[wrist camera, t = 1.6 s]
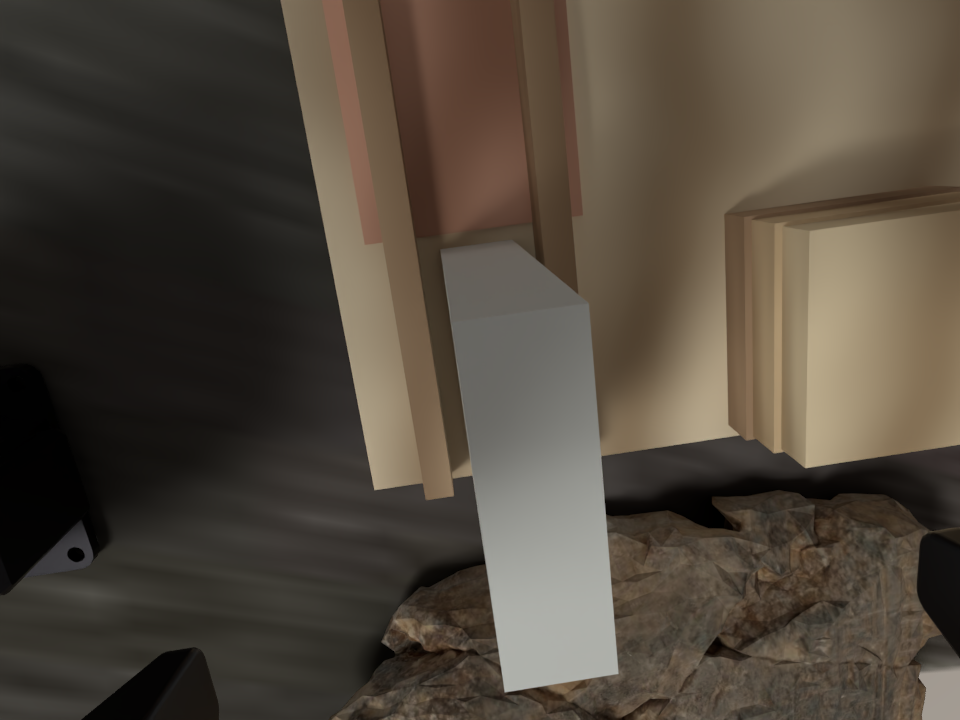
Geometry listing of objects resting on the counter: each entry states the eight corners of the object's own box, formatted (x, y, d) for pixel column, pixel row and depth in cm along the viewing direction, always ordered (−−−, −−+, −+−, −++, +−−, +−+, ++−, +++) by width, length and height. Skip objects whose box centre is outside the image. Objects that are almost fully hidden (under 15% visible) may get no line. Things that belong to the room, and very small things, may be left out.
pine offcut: (781, 448, 18) (805, 468, 17) (782, 226, 16) (809, 230, 15) (964, 421, 18) (1001, 438, 17) (985, 198, 16) (1027, 200, 15)
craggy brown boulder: (345, 835, 25) (852, 798, 26) (323, 985, 20) (943, 932, 22) (314, 499, 22) (903, 472, 23) (279, 587, 17) (1026, 548, 18)
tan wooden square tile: (728, 425, 20) (746, 440, 19) (724, 214, 18) (744, 216, 17) (916, 396, 20) (945, 410, 19) (930, 185, 19) (963, 186, 18)
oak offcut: (753, 436, 19) (774, 453, 18) (751, 219, 17) (774, 223, 16) (939, 408, 19) (971, 423, 18) (956, 191, 18) (993, 193, 16)
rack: (376, 478, 21) (370, 515, 18) (282, -18, 17) (260, -46, 15) (927, 395, 21) (985, 421, 19) (964, -100, 17) (1041, -139, 15)
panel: (471, 466, 20) (504, 692, 11) (440, 249, 18) (452, 322, 9) (536, 456, 20) (618, 674, 11) (512, 239, 18) (588, 302, 10)
